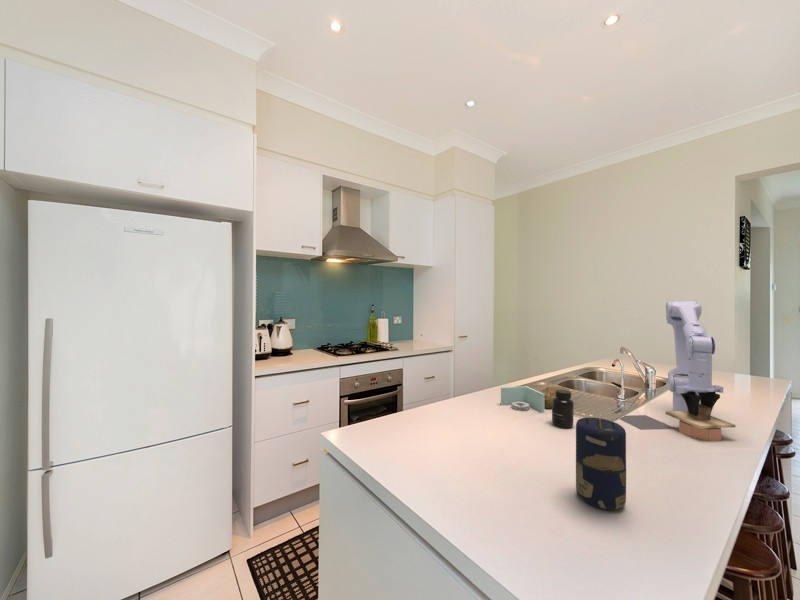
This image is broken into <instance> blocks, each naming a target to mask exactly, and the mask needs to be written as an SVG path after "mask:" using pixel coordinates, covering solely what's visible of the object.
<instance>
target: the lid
mask: <svg viewBox="0 0 800 600" xmlns="http://www.w3.org/2000/svg"><path fill="white" fill-rule="evenodd" d="M665 415H668V416H670V417H672V418H674V419H677V420H678V421H679V420H681V421H683V422H686V423H688V424H690V425H693V426H695V427H697V428H721V429H724V428H725V429H726V428H728V429H729V428H732V429H733V428H736V424H734V423H732V422H730V421H729V422H728V421H727V420H723V419H721V418H717V417H715V416H714V415H713V416H712V411H711V408H710V407H707V406H704V405H701V404H699V405H698V414H697V416H694V415H691V414H689V411H688V409H687V411H673V410H671V411H665Z"/></svg>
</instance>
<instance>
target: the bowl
mask: <svg viewBox="0 0 800 600" xmlns="http://www.w3.org/2000/svg"><path fill="white" fill-rule="evenodd" d="M678 421H679V422H678V423H679V424H678V429H679V433H681V434H683V435H685V436H687V437H691V438H694V439H698V440H703V441H711V442H712V441H715V442H716V441H722V428H697V427H695V426H693V425H690V424H688V423H686V422H683V421H681V420H679V419H678Z"/></svg>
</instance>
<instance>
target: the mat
mask: <svg viewBox="0 0 800 600" xmlns="http://www.w3.org/2000/svg"><path fill="white" fill-rule="evenodd" d="M623 416H624V417H622V418H620V419H619V420H621V421H622V422H624V423H626V424H629V425H631V426H632V427H634V428H637V429H638V430H640V431H641V430H644V431H645V430H646V431H647V430H648V431H651V430H677V428H676V427H674V426H672V425H669V424H667V423H664V422H662V421H660V420H658V419H656V418H653V417H651V416H649V415H647V414H644V415H642V414H641V415H640V414H639V415H637V414H636V415H623Z"/></svg>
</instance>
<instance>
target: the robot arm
mask: <svg viewBox="0 0 800 600" xmlns="http://www.w3.org/2000/svg"><path fill="white" fill-rule="evenodd" d="M701 315H702V304H701V302H700V301H698V300H695V301H690V300H689V301H685V300H684V301H678V300H677V301H675V300H674V301H673V300H672V301H671V300H668V301H667V302H666V304H665V319H666V323H667V324H669V325H671V327H672V329H673V333H674V349H675V350H674V351H675V361H676V362H675V363H676V367H673V369H671V370H669V371H668V373H667V389H668V391H670V392H671V393H672V411H687V409H688V411H689V414H691V415H694V416H697V414H698V405H699V404H701V405H704V406H707V407H710V408H711V412H712V411H713V409H714V407H715V404H716V403H717V402H718V400H719V399H720V398H721V395H720V394H721V393H722V394H723V393H724V386H722V385H717V384H715V385H714V384H713V355H714V354H715V353H716V341H715V338H714V336H711V335H710V334H708V332H707V330H706V328H705V325H704V324H703V323H701V322H699V320H700V317H701Z"/></svg>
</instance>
